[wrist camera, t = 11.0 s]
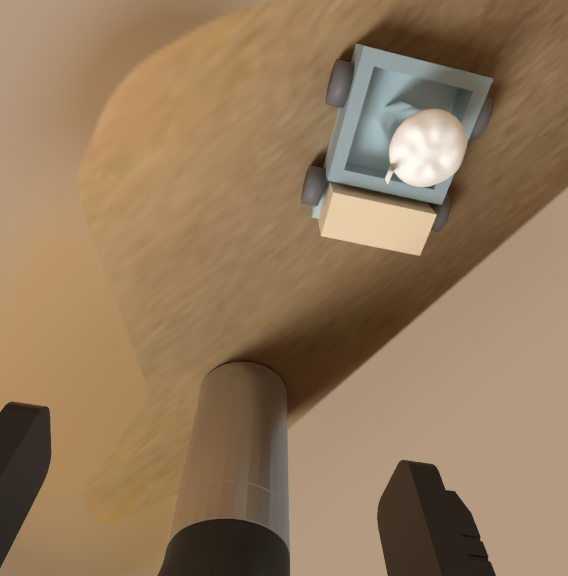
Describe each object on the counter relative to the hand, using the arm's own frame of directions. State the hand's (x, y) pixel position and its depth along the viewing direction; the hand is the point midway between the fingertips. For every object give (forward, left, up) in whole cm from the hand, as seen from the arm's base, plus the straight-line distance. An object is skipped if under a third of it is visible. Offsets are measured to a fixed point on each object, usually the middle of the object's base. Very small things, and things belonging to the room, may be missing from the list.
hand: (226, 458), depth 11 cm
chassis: (+2, -9, -30) cm, 31 cm away
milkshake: (+4, -9, -29) cm, 30 cm away
